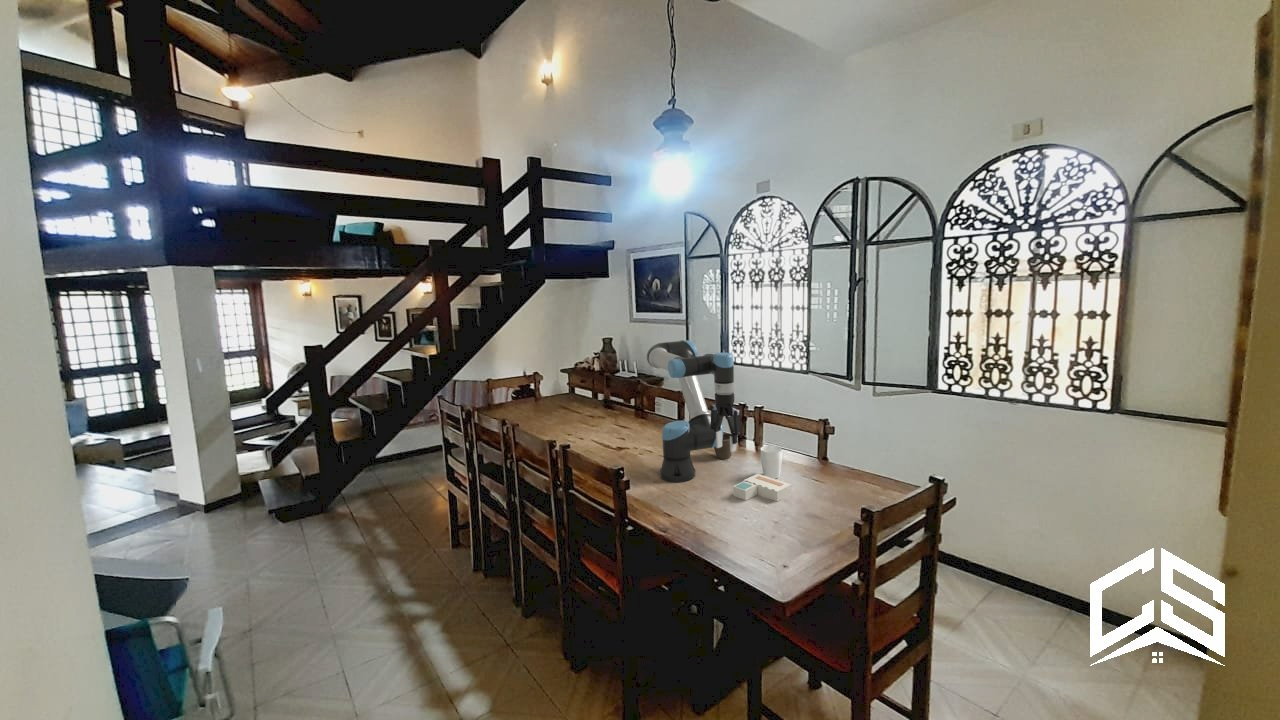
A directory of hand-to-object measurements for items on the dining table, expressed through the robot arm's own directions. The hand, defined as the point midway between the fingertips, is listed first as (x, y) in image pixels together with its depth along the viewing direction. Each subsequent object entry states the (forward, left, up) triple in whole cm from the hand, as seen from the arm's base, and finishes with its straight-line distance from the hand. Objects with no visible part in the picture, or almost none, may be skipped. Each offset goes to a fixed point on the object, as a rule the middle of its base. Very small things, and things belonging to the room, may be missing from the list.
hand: (726, 449), depth 208 cm
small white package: (+13, +8, -17) cm, 23 cm away
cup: (+5, +22, -17) cm, 29 cm away
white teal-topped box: (+9, 0, -17) cm, 19 cm away
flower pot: (-25, +26, -17) cm, 40 cm away
